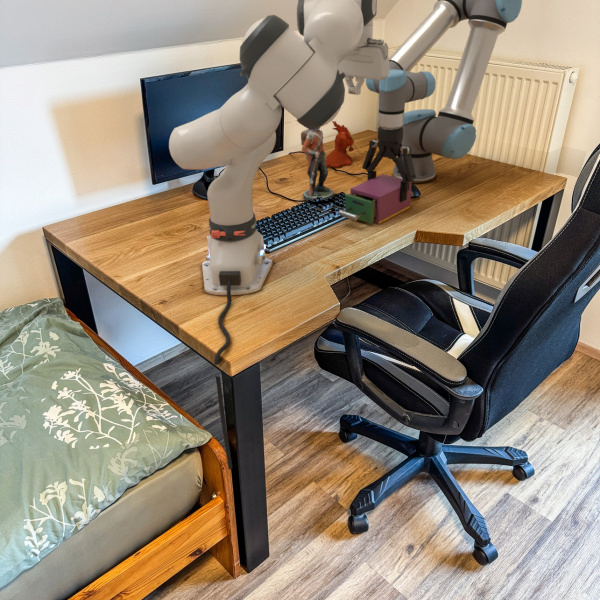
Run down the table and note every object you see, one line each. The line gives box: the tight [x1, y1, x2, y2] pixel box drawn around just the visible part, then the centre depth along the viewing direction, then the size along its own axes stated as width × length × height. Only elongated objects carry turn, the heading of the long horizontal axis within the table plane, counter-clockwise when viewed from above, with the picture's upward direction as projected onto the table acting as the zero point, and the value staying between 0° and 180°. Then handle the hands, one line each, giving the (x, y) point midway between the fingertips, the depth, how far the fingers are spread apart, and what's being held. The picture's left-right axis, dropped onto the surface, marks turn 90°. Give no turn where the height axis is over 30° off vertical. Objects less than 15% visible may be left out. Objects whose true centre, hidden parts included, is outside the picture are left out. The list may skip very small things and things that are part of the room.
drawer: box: [337, 193, 377, 224], centre depth 172 cm, size 20×10×7 cm, turn 136°
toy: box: [325, 120, 355, 169], centre depth 216 cm, size 13×18×15 cm
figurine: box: [300, 127, 335, 202], centre depth 181 cm, size 11×11×30 cm
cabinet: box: [349, 173, 413, 225], centre depth 176 cm, size 16×11×9 cm
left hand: (354, 94), depth 150 cm, fingers closed
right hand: (387, 196), depth 178 cm, fingers closed on cabinet, 11 cm apart
